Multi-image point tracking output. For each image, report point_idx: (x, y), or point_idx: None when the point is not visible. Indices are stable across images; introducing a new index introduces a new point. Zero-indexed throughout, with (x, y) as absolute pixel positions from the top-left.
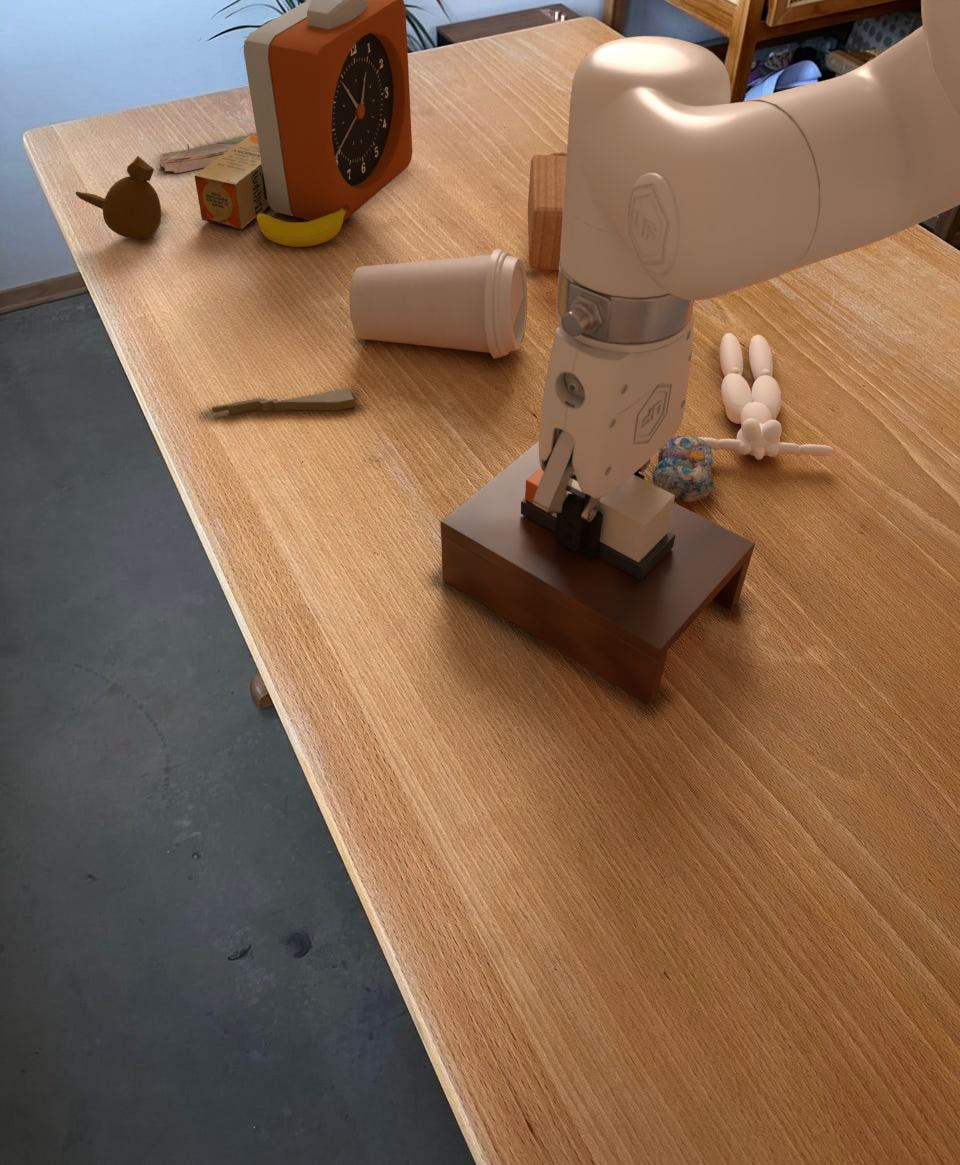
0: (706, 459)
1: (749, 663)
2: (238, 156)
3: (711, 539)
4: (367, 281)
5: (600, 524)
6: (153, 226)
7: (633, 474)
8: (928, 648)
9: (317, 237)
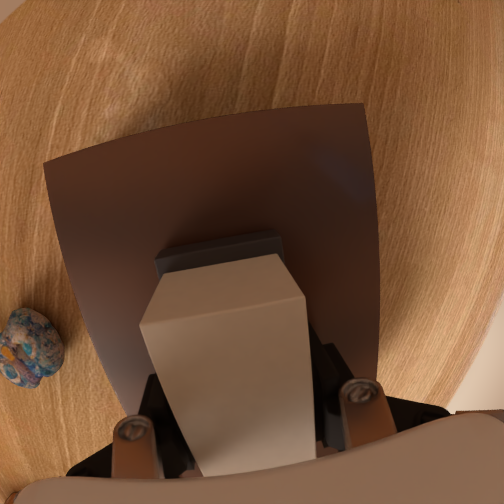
0: (2, 342)
1: (167, 83)
2: None
3: (89, 218)
4: None
5: (320, 363)
6: None
7: (165, 421)
8: (28, 12)
9: None
